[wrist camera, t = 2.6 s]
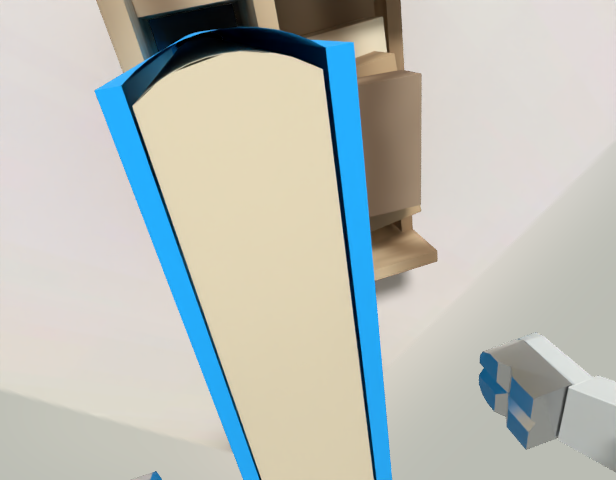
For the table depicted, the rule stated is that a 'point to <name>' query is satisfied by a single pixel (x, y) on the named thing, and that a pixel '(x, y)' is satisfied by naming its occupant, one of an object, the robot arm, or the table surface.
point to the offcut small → (391, 139)
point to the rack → (294, 19)
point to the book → (264, 240)
